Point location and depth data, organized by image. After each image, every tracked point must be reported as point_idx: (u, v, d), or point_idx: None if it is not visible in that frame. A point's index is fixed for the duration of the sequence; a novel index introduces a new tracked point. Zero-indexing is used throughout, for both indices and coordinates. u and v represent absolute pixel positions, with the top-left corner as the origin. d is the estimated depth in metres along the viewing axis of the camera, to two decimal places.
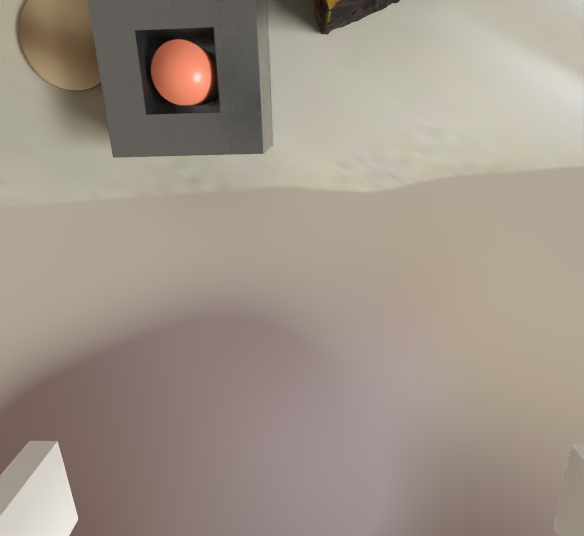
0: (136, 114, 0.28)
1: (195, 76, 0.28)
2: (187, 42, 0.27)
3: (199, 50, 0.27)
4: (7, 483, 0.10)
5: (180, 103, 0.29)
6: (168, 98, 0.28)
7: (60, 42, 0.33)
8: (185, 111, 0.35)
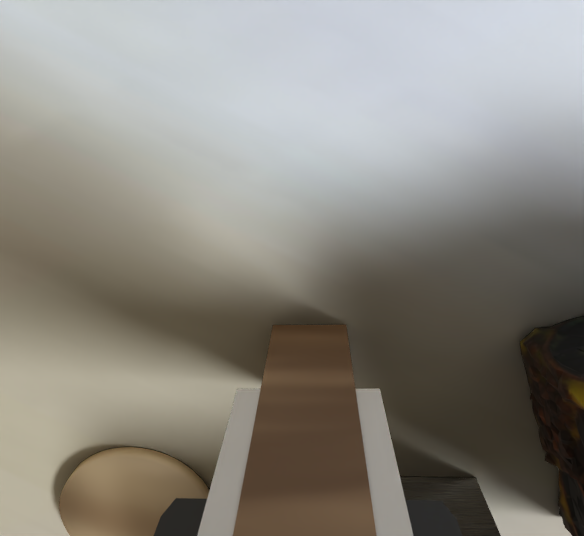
0: None
1: None
2: None
3: None
4: (241, 419, 0.12)
5: None
6: None
7: (126, 521, 0.20)
8: None
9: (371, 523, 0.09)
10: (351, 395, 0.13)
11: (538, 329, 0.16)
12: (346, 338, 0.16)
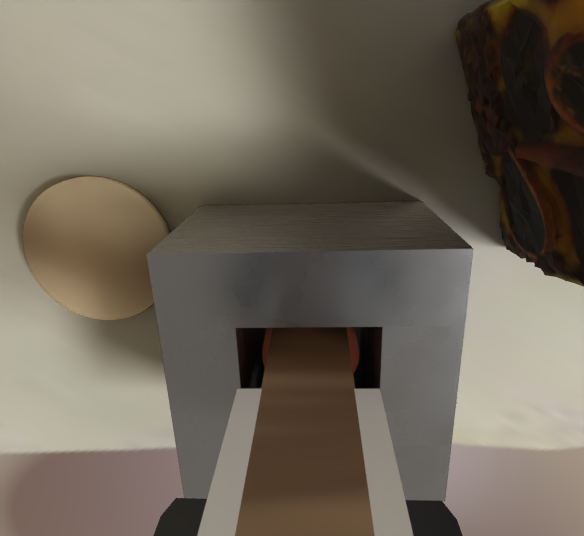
0: None
1: None
2: None
3: None
4: (241, 419, 0.12)
5: None
6: None
7: (87, 257, 0.21)
8: None
9: (371, 526, 0.09)
10: (351, 397, 0.13)
11: None
12: (346, 340, 0.16)
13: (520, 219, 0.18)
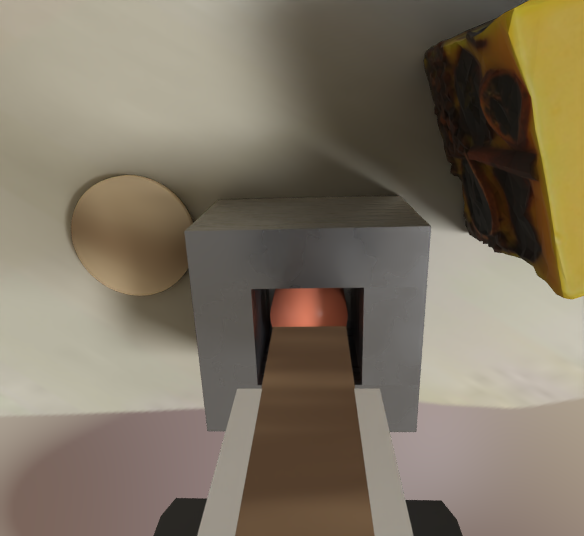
0: (244, 384, 0.21)
1: (327, 321, 0.22)
2: None
3: (335, 292, 0.21)
4: (241, 418, 0.12)
5: None
6: None
7: (124, 242, 0.25)
8: None
9: (371, 525, 0.09)
10: (351, 397, 0.13)
11: None
12: (346, 340, 0.16)
13: (476, 208, 0.22)
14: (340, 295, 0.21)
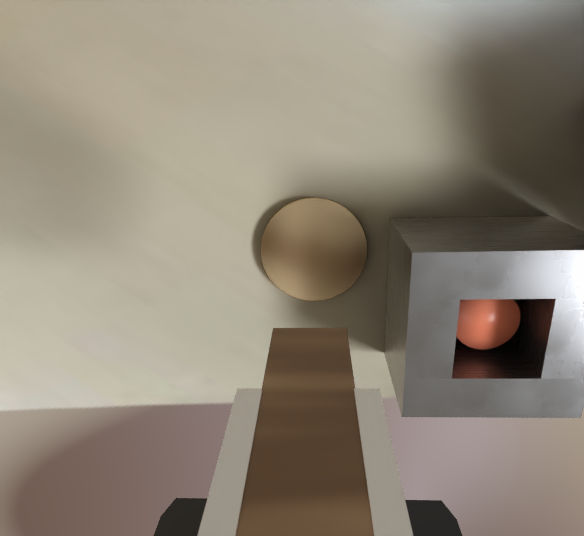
0: (440, 378, 0.25)
1: (501, 324, 0.26)
2: None
3: (512, 301, 0.25)
4: (241, 418, 0.12)
5: (478, 347, 0.26)
6: (466, 342, 0.26)
7: (306, 255, 0.29)
8: None
9: (371, 528, 0.09)
10: (351, 399, 0.13)
11: None
12: (346, 341, 0.16)
13: None
14: (515, 303, 0.25)
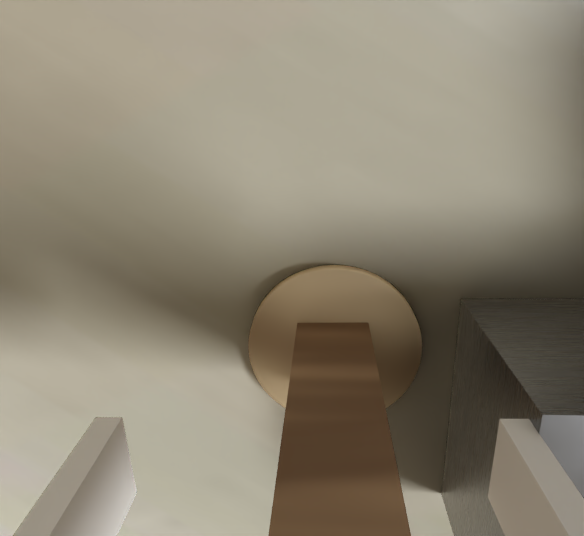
0: None
1: None
2: None
3: None
4: (82, 454, 0.11)
5: None
6: None
7: None
8: None
9: (401, 505, 0.09)
10: (377, 388, 0.13)
11: None
12: (369, 335, 0.16)
13: None
14: None
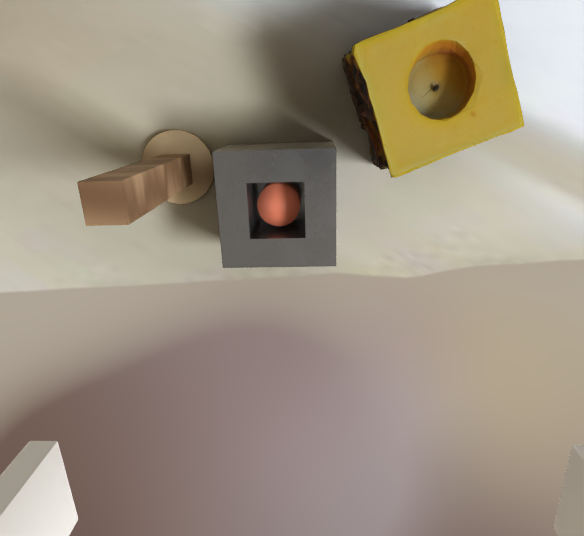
0: (242, 238, 0.38)
1: (288, 208, 0.40)
2: (284, 186, 0.39)
3: (292, 191, 0.39)
4: (7, 483, 0.10)
5: (276, 225, 0.40)
6: (268, 221, 0.40)
7: None
8: None
9: (159, 165, 0.34)
10: (174, 159, 0.38)
11: None
12: (185, 155, 0.41)
13: (372, 146, 0.40)
14: (295, 192, 0.39)
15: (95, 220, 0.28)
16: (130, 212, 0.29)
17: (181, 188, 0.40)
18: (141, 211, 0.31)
